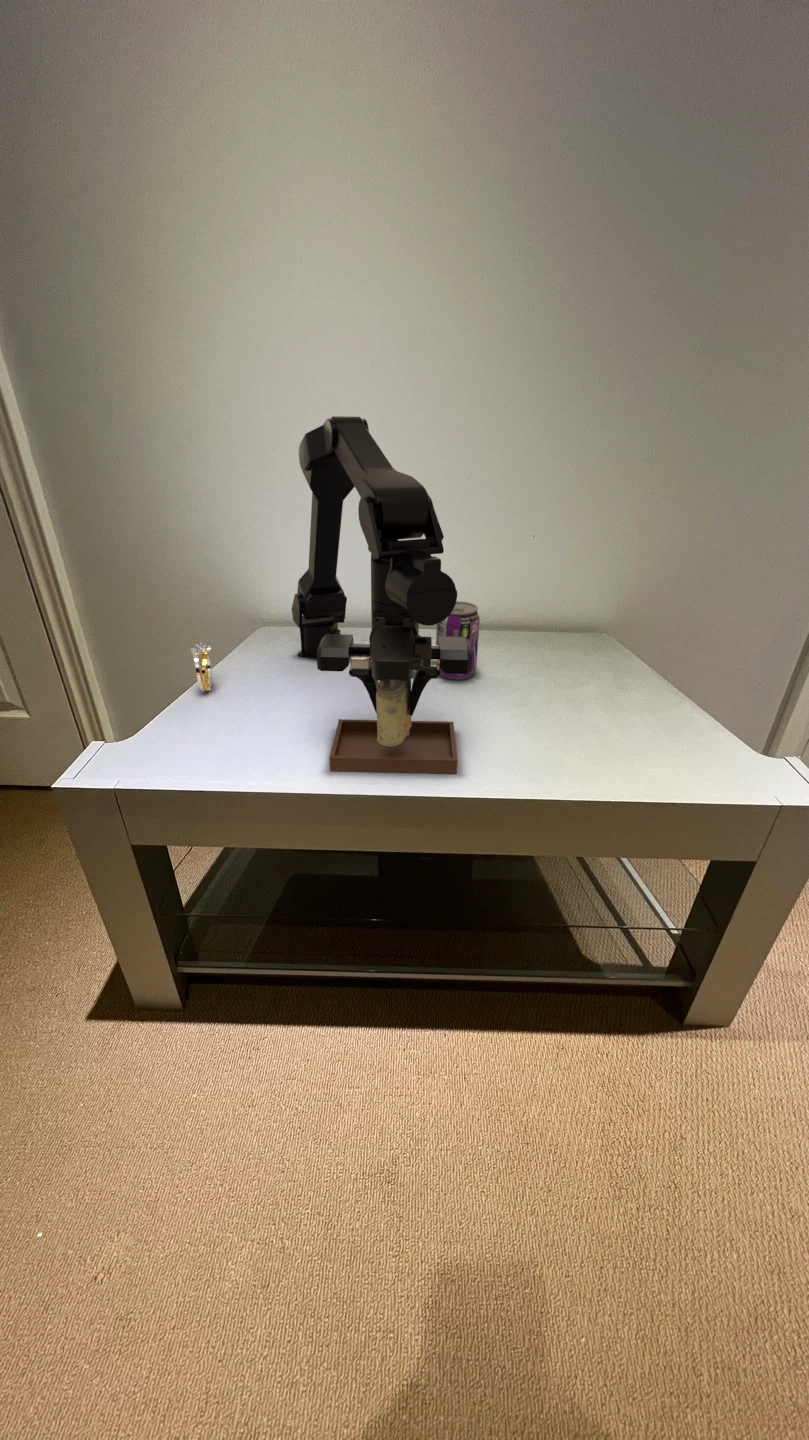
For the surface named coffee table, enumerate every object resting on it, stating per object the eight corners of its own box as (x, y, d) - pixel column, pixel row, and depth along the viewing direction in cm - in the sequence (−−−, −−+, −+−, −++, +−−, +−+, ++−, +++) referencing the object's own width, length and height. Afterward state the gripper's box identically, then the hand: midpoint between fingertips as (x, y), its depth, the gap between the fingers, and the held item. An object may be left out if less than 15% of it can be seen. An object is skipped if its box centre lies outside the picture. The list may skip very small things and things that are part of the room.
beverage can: (473, 683, 100) (478, 615, 94) (431, 680, 101) (434, 612, 95) (477, 667, 106) (482, 602, 100) (438, 663, 107) (440, 599, 101)
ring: (213, 699, 93) (205, 652, 90) (192, 699, 93) (184, 652, 89) (221, 680, 100) (215, 635, 96) (202, 681, 99) (194, 636, 95)
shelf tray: (330, 771, 76) (329, 757, 75) (339, 732, 85) (338, 719, 84) (456, 774, 76) (457, 760, 75) (452, 734, 85) (453, 721, 84)
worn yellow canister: (390, 718, 82) (389, 652, 77) (417, 722, 81) (417, 655, 76) (373, 745, 77) (370, 675, 71) (401, 749, 76) (400, 679, 70)
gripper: (305, 619, 63) (314, 744, 71) (480, 622, 63) (470, 748, 70) (320, 588, 73) (326, 701, 80) (472, 591, 73) (464, 704, 80)
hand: (394, 714), depth 78 cm, fingers closed on worn yellow canister, 4 cm apart
